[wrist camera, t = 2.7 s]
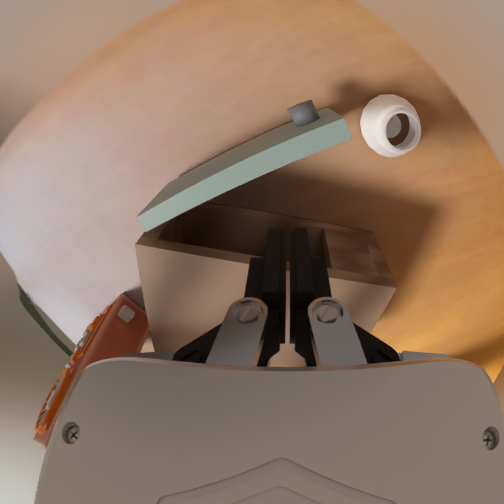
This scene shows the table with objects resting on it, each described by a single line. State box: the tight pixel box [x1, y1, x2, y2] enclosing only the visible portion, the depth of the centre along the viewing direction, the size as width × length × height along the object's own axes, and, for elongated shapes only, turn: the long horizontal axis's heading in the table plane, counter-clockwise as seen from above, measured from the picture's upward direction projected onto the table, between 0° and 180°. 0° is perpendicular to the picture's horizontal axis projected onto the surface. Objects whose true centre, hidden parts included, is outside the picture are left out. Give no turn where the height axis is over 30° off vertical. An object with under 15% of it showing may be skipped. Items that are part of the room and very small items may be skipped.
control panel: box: [33, 294, 150, 449], centre depth 27 cm, size 21×7×15 cm
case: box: [135, 202, 397, 367], centre depth 25 cm, size 18×14×8 cm
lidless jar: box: [360, 94, 421, 157], centre depth 17 cm, size 5×3×5 cm
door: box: [136, 100, 353, 232], centre depth 17 cm, size 14×2×6 cm, turn 118°
